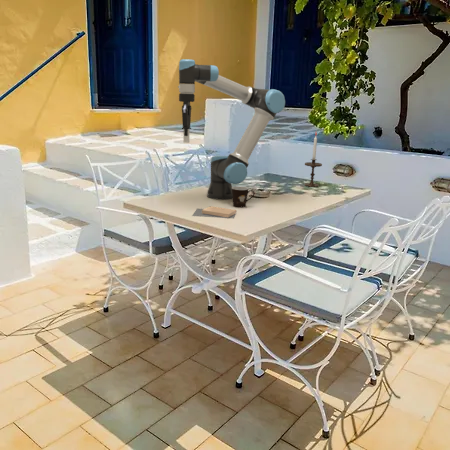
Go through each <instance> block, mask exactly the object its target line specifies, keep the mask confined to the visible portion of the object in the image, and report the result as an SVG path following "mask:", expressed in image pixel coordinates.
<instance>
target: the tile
mask: <svg viewBox="0 0 450 450" xmlns="http://www.w3.org/2000/svg"><path fill="white" fill-rule="evenodd" d="M202 209H203V210H202V214H205V215H212V216H218V217H224V218H223V219H230V218H229V217H231V216H233V215H235V216H236V214H237V212H236V211H237V210H236V209H232V208H226V207H225V208H224V207H220V206H218V207H217V206H212V205H211V206H208V207H205V208H202Z"/></svg>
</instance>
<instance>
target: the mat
mask: <svg viewBox="0 0 450 450" xmlns="http://www.w3.org/2000/svg"><path fill="white" fill-rule="evenodd" d="M203 209H204V208H196V209H195V211H194V212H193V214H192V215H191V217H203V218H219V219H225V218H224V217H218V216H212V215H205V214H202V210H203ZM236 213H237V210H236ZM235 218H236V214H235V215H233V216H231V217H229V218H228V219H235Z"/></svg>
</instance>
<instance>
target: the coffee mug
mask: <svg viewBox="0 0 450 450" xmlns="http://www.w3.org/2000/svg"><path fill="white" fill-rule="evenodd" d="M250 192H252V193H253V194H252V196H250V197H249V198H248V195H249V193H250ZM254 196H255V190H251V189H249V187H247V186H232V198H231V199H232V207H234V208H238V209H241V208H246V207H247V202H248V201H250V200H251V199H252V198H254Z"/></svg>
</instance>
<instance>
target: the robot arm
mask: <svg viewBox="0 0 450 450" xmlns="http://www.w3.org/2000/svg"><path fill="white" fill-rule="evenodd" d="M178 63H179V64H178V84H179V85H178V86H177V89H178V91H179V94H178V101H179V102H183V103H182V106H181V115H182V116H181V118H182V127H181V130H183V143H184V144H185V143H186V144H188V143H190V130H192V127H191V121H192V120H191V119H192V109H193V108H192V105H191V103H194V102H195V99H196V98H195V96H196V95H195V93H196V90H195V89H196V86H195V85H196V83H198V84H201V85H204V86H206V87H208V88H211V89H213V90H215V91H218V92H220V93H222V94H224V95H228V96H230V97H232V98H235V99H237V100H239V101H241V103H242V104H243V105H246V106H248V107H251V108H252V109H254V114H253V116H252V118H251V120H250V122H249V123H248V125H247V127H246V128H245V130H244V132H243V135H242V136H241V138H240V140H239V142H238V144H237V145H236V147H235V149H234V151H233V152H231V153H229V154H228V155H214V156H211V158H210V183H209V187H208V189H207V192H206V197H207V198H209V199H213V200H230V199H233V198H232V187H233V185H238V184H241V183H242V182H244V181H245V180H246V178H247V176H248V167H249V164H250V163H249V159H250V157H251V155H252V153H253V151H254V150H255V148H256V146H257V144H258V142H259V141H260V138H261V137H262V135H263V133H264V131H265V130H266V128H267V125H268V124H269V122H270V121H272V120H274V119H275V116H276V115H277V114H279V113H281V112H282V111H283V110H284V108H285V106H286V99H285V95H284V94H283V92H282V91H280V90H277V89H274V88H271V89H264V88H263V89H262V88H255V87H252V86H249V85H248V86H245V85H243V84H240V83H238V82H236V81H233V80H231V79H229V78H227V77H225V76H222V75H220V72H219V71H220V70H219V68H218V66H216V65H212V64H196V61H195V60H194V59H188V58H187V59H186V58H185V59H180V60H179V62H178Z"/></svg>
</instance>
